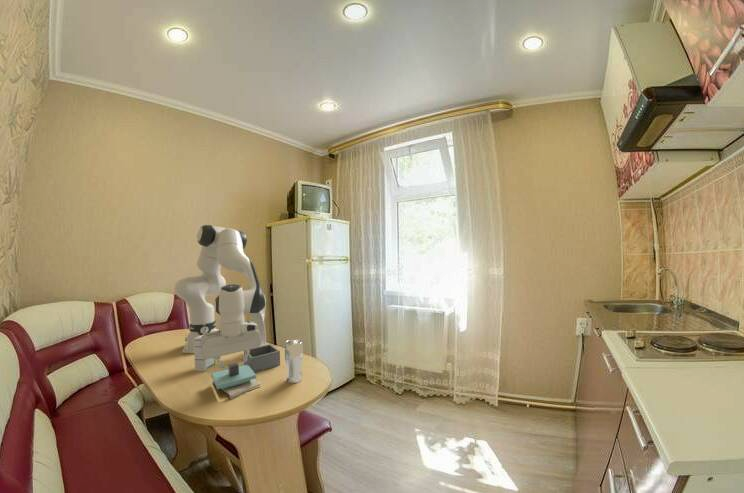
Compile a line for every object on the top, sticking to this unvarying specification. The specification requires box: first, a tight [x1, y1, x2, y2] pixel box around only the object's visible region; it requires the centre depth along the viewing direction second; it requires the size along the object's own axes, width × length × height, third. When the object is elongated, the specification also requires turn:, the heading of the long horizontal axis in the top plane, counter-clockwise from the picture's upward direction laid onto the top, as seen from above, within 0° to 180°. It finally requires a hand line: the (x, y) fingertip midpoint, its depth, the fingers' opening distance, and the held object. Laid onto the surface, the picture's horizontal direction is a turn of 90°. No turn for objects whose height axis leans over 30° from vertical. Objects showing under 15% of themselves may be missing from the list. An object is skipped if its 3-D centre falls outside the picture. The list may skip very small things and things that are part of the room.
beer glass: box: [284, 339, 304, 384], centre depth 111 cm, size 7×7×15 cm
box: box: [243, 343, 281, 374], centre depth 124 cm, size 12×12×7 cm
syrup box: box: [193, 335, 216, 372], centre depth 124 cm, size 6×6×14 cm
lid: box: [211, 362, 257, 390], centre depth 107 cm, size 13×13×6 cm
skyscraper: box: [249, 302, 267, 347], centre depth 138 cm, size 8×8×28 cm
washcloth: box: [211, 378, 262, 400], centre depth 107 cm, size 12×18×3 cm, turn 50°
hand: (233, 364), depth 106 cm, fingers open, 7 cm apart
